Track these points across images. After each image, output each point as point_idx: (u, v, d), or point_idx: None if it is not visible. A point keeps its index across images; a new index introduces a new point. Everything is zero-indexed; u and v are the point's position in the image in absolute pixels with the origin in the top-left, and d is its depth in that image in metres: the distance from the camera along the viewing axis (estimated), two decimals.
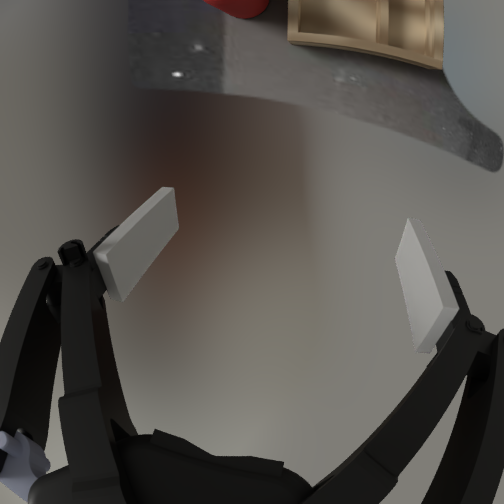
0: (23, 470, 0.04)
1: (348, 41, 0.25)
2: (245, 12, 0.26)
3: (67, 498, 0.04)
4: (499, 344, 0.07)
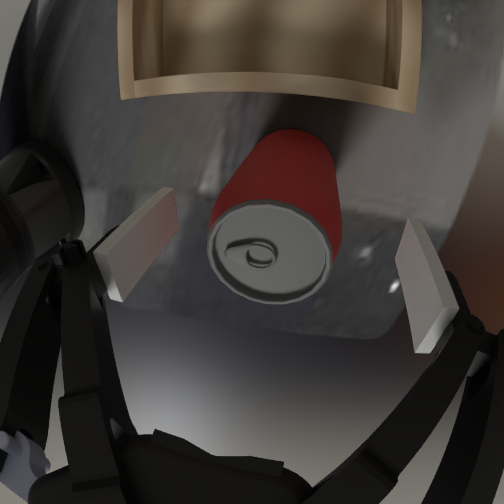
0: (23, 470, 0.04)
1: (411, 0, 0.09)
2: None
3: (67, 498, 0.04)
4: (499, 344, 0.07)
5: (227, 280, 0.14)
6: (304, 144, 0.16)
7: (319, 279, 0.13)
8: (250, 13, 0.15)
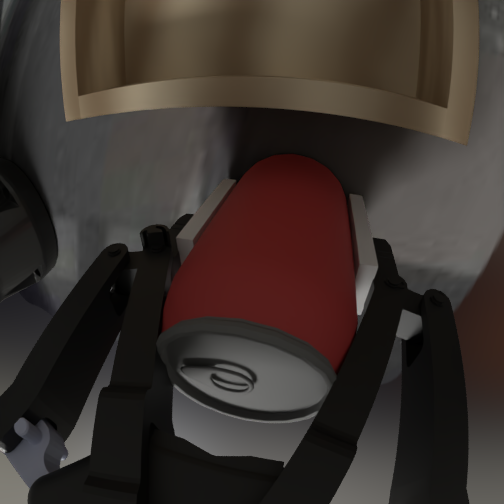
0: (36, 459, 0.04)
1: None
2: (350, 234, 0.13)
3: (67, 498, 0.04)
4: (427, 307, 0.09)
5: (190, 394, 0.09)
6: (307, 184, 0.12)
7: (316, 407, 0.08)
8: None
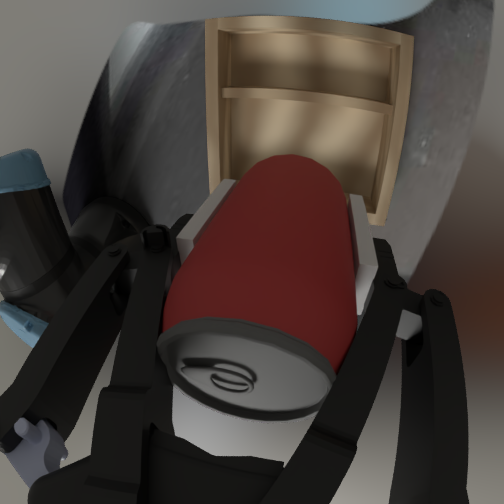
0: (36, 459, 0.04)
1: (393, 159, 0.23)
2: (350, 234, 0.13)
3: (67, 498, 0.04)
4: (427, 307, 0.09)
5: (191, 394, 0.09)
6: (307, 184, 0.12)
7: (316, 407, 0.08)
8: (292, 146, 0.29)
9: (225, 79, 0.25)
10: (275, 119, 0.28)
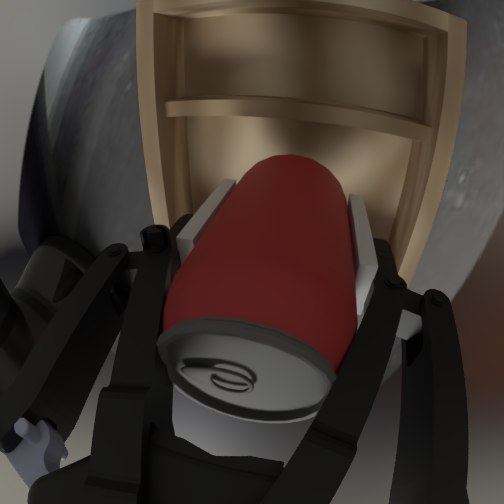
0: (35, 458, 0.04)
1: (427, 212, 0.15)
2: (350, 234, 0.13)
3: (67, 498, 0.04)
4: (427, 307, 0.09)
5: (191, 394, 0.09)
6: (307, 184, 0.12)
7: (316, 408, 0.08)
8: None
9: (173, 88, 0.16)
10: (250, 143, 0.19)
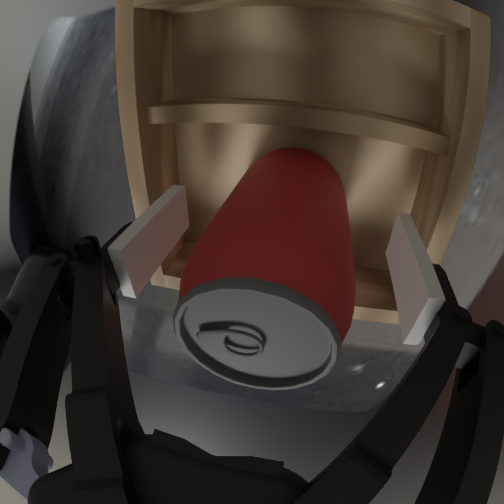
0: (25, 468, 0.04)
1: (442, 233, 0.13)
2: (348, 219, 0.14)
3: (67, 498, 0.04)
4: (487, 336, 0.07)
5: (204, 362, 0.10)
6: (309, 172, 0.13)
7: (321, 370, 0.09)
8: None
9: (158, 91, 0.14)
10: (245, 152, 0.17)
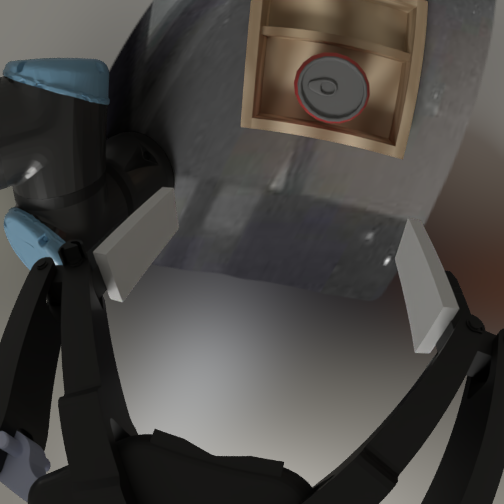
0: (23, 470, 0.04)
1: (411, 97, 0.23)
2: None
3: (67, 498, 0.04)
4: (499, 344, 0.07)
5: (306, 103, 0.20)
6: None
7: (360, 104, 0.19)
8: None
9: (265, 21, 0.24)
10: None
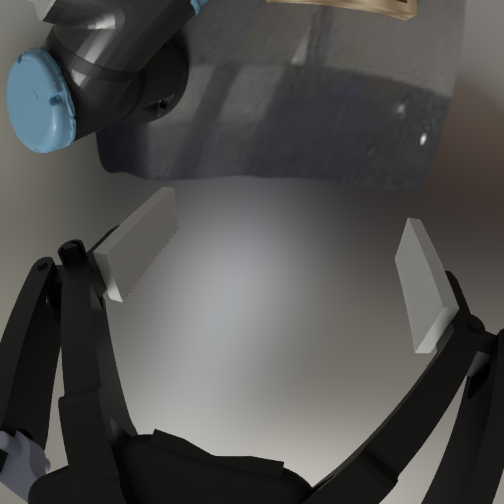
0: (23, 470, 0.04)
1: None
2: None
3: (67, 498, 0.04)
4: (499, 344, 0.07)
5: None
6: None
7: None
8: None
9: None
10: None
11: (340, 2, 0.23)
